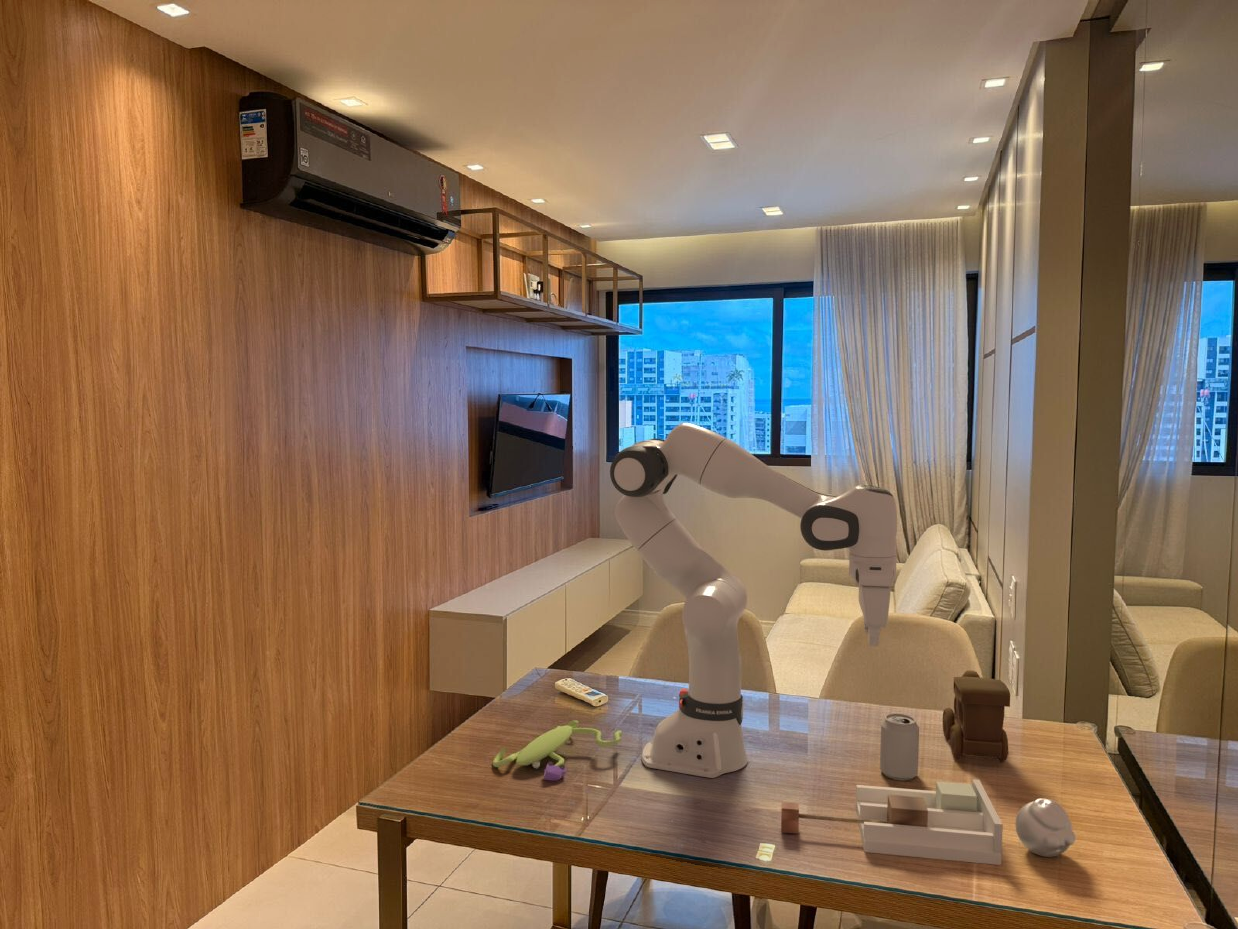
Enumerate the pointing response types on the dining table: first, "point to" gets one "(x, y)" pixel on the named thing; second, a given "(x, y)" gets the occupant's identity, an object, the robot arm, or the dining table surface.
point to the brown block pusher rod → (898, 812)
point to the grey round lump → (1044, 828)
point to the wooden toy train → (977, 717)
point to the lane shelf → (931, 828)
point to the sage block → (955, 797)
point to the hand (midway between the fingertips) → (871, 638)
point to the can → (899, 746)
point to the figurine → (551, 749)
